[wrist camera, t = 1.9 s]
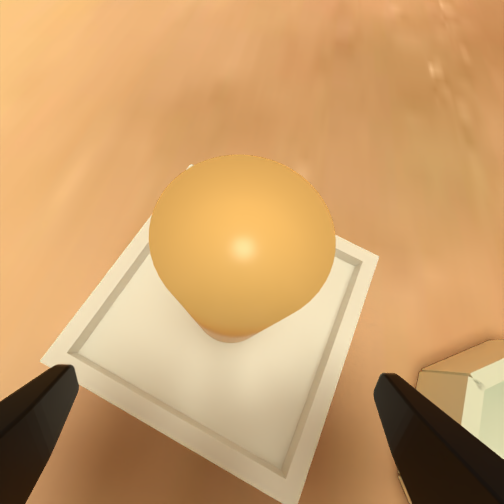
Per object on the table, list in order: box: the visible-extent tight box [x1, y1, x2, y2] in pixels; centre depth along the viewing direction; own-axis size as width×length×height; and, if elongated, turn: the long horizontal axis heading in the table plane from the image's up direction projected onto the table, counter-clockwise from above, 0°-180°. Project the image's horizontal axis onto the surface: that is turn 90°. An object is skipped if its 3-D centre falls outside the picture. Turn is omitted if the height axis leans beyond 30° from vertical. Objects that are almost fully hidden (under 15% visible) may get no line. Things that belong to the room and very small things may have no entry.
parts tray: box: [40, 164, 379, 504], centre depth 18 cm, size 16×16×2 cm
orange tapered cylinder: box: [149, 155, 336, 343], centre depth 13 cm, size 5×5×12 cm
